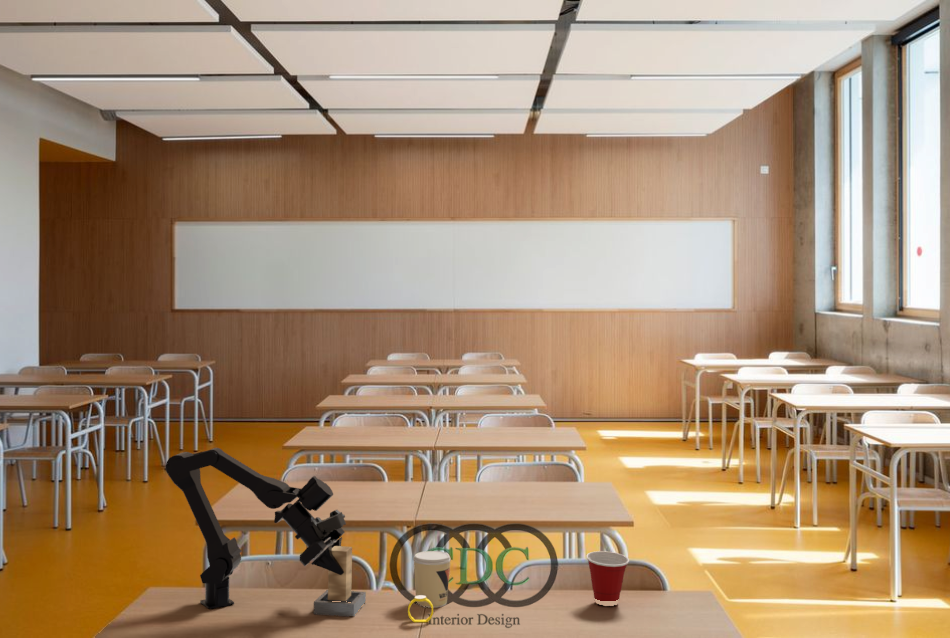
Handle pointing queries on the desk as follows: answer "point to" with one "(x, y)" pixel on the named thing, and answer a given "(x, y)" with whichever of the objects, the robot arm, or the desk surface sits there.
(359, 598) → the grey square tray
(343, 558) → the rectangular block
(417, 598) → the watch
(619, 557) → the plastic cup
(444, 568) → the coffee cup
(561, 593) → the desk surface
